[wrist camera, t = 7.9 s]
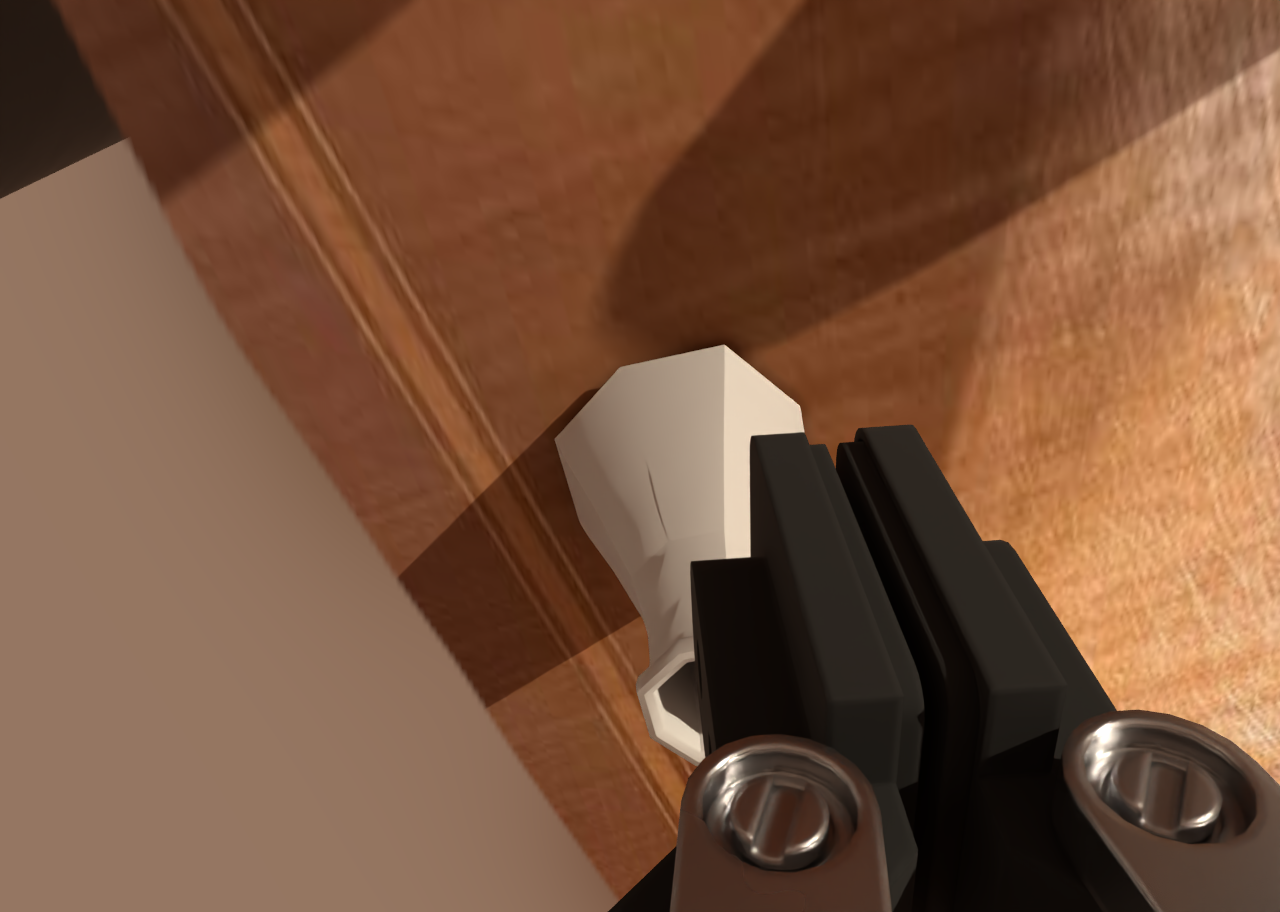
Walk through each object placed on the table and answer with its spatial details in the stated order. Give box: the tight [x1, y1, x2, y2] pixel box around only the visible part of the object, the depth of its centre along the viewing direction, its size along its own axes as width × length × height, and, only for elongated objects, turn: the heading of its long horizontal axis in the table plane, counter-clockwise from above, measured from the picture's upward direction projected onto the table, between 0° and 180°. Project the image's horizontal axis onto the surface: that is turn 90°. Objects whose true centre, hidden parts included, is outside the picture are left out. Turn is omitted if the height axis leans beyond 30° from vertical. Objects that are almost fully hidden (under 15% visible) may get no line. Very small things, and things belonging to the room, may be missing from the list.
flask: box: [555, 345, 804, 766], centre depth 24 cm, size 7×7×10 cm
